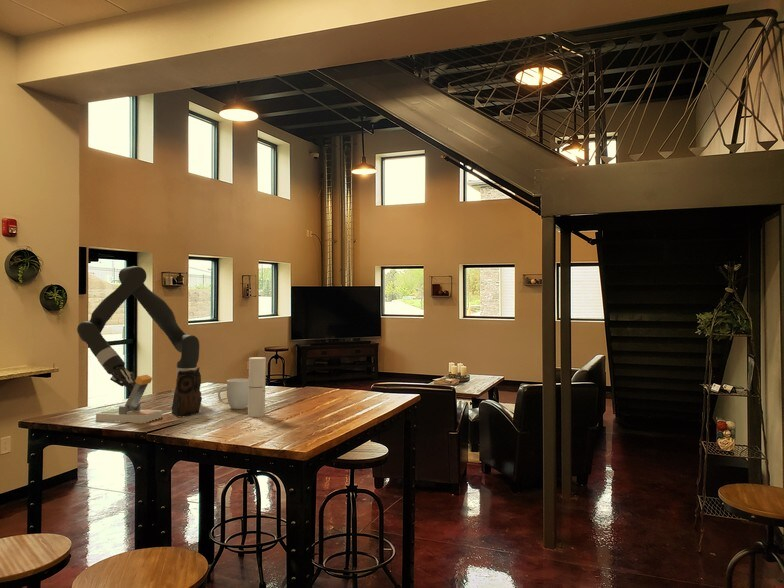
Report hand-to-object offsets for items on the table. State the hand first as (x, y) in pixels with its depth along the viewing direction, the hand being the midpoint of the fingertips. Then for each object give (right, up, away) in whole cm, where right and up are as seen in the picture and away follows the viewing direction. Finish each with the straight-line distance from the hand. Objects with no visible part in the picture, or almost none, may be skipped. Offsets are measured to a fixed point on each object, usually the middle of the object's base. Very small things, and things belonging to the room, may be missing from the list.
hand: (135, 391), depth 227 cm
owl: (+15, -12, +14) cm, 24 cm away
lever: (-3, -8, 0) cm, 9 cm away
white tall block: (+48, -13, +12) cm, 51 cm away
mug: (+34, -13, +28) cm, 46 cm away
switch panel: (-2, -12, 0) cm, 12 cm away
